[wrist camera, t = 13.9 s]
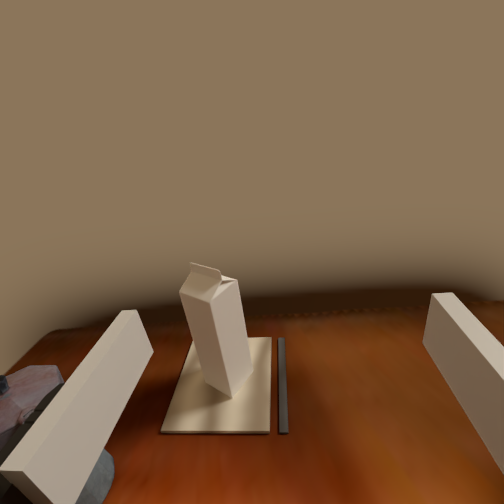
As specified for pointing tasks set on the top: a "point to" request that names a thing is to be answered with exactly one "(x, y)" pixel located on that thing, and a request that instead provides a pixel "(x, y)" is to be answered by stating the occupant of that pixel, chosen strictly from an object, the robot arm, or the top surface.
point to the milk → (217, 328)
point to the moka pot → (23, 404)
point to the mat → (224, 407)
